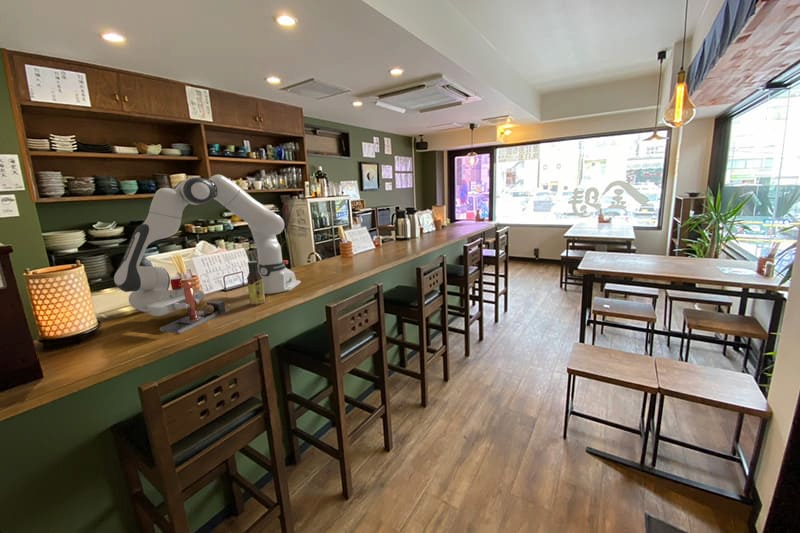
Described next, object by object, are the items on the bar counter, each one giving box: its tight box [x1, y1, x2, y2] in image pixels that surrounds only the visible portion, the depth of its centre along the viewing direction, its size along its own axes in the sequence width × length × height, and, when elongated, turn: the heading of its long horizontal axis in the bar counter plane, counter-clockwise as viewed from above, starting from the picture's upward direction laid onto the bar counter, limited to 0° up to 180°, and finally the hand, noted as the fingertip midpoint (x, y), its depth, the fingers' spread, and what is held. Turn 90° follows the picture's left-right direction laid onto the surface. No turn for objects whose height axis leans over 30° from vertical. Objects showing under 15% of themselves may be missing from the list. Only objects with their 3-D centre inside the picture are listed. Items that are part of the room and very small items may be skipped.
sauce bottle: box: [246, 260, 266, 307], centre depth 152 cm, size 6×6×20 cm
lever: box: [179, 281, 205, 324], centre depth 134 cm, size 7×7×16 cm
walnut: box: [202, 304, 214, 315], centre depth 142 cm, size 4×4×4 cm
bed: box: [159, 299, 231, 334], centre depth 137 cm, size 24×10×5 cm, turn 163°
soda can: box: [170, 275, 182, 290], centre depth 163 cm, size 6×6×12 cm
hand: (192, 303), depth 134 cm, fingers closed on lever, 3 cm apart
